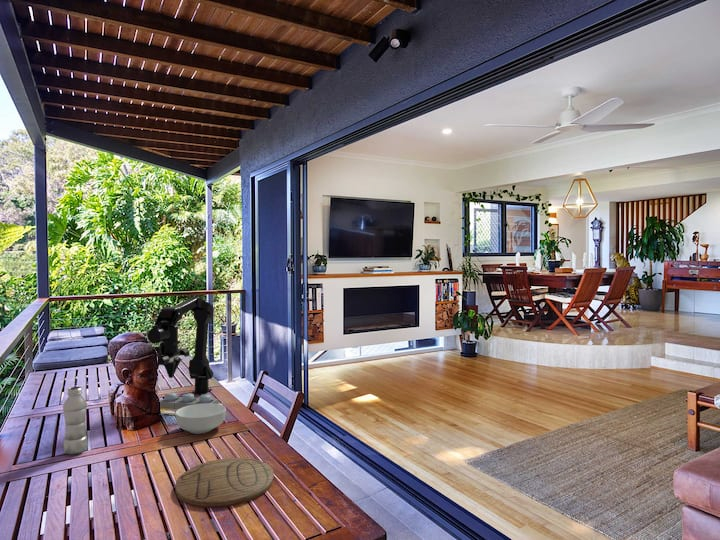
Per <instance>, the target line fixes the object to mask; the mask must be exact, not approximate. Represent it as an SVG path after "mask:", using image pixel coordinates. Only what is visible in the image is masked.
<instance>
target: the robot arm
mask: <svg viewBox="0 0 720 540" xmlns="http://www.w3.org/2000/svg"><path fill="white" fill-rule="evenodd" d="M190 311H191V312H192V313H193V319H194V320H195V322H196V330H195V331H196V333H195V342H194V343H195V344H194V355H193V357H192V359H190V360H189V361H188V368H187V369H188V373H189V377H190V379H191V380H194V390H193V391H191V394H201V395H205V394H207V393H209V392H211V391H212V389H213V388H209V386H210V384H209V383H210V381H209V380H211V379H213V378H214V371H213V370H212V368H211V367H210V361H209V359H208V357H207V350H208V349H207V348H208V346H207V345H208V334H209V333H208V332H209V324H210V322H211V320H212V319H213V318H214V313H215V308H214V306H213V305H212V304H211V303H210V302H208V301H205V300H204V299H203V298H202V297H200V296H190V297H188V298H187V299H186V300H185V299H184V301H181V302H179V303H177V304H176V305H174V306H173V305H172V306H165V307H162V308H161V309H160V311H159V313H158V315H157V317H156V319H155V321H154V324H153V325H152V326H151V329H149V331H148V332H147V339H148V341H149V342H150V343H151V344H159V346H157V347H155V346H154V345H153V347H154V348H155V349H156V351H157V353H158V365H157V366H164V368H165V370H166V374H167V376H168V378H169V379H172V378H174V375H175V373H176V371H177V369H178V367H179V366H180V363H181V361H182V358H179V356H184V357H186V358H187V357H189V356H191V355H190V350H189V349H188V348H179V345H180V344H181V340H179V329H178V327H181V323H180V322H179V321H181V319H182V318H183V316H184V314H186V313H188V312H190Z"/></svg>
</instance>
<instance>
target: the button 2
mask: <svg viewBox="0 0 720 540" xmlns="http://www.w3.org/2000/svg"><path fill="white" fill-rule="evenodd" d="M181 397H182V402H184V403H191V402H193V401H194V398H195V393H192V392H191V393H183V394H182V395H181Z"/></svg>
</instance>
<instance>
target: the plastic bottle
mask: <svg viewBox="0 0 720 540" xmlns="http://www.w3.org/2000/svg"><path fill="white" fill-rule="evenodd" d="M82 393H83V392H82V386H72V387H68V389H67V396H68V397H67V398H66V399H65V401H64V403H63V405H62V411H63V417H64V424H65V428H64V429H65V430H64V440H63V445H62V448H63V451H64V453H65V454H66V455H78V454H81V453H83V452H85V451H86V449H87V448H88V444H89V442H88V438H87V437H88V436H87V433H86V432H87V431H86V413H87V407H88V404H87V400H86V398H85V397H83V395H82Z"/></svg>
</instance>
